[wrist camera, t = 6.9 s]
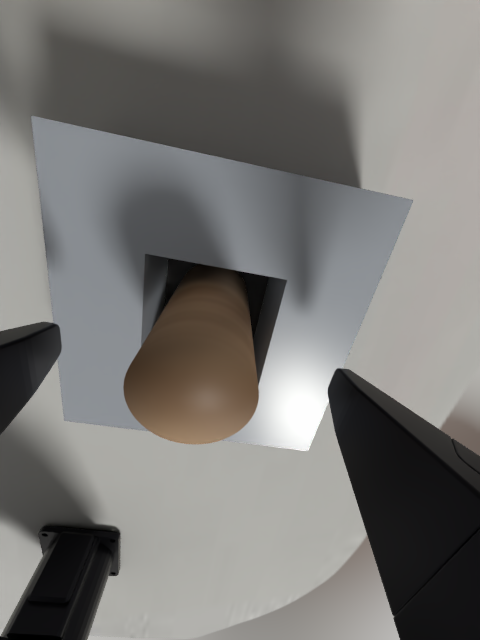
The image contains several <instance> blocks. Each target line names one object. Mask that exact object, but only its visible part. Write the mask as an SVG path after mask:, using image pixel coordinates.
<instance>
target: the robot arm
mask: <svg viewBox="0 0 480 640" xmlns="http://www.w3.org/2000/svg"><path fill="white" fill-rule="evenodd" d="M61 350H62V342H61V332H60V327H59V325H57V324H55V323H49V322H40V323H35V324H31V325H26V326H22V327H17V328H13V329H8V330H4V331H0V435H1V434H2V432H3V431H4V430H5V429H6V428H7V426H8V425H9V424H10V423H11V422H12V420H13V419H14V418H15V417H16V415H17V414H18V413H19V412H20V411H21V409H22V408H23V407H24V406H25V405H26V403H27V402H28V401H29V400H30V398H31V397H32V396H33V394H34V393H35V392H36V390H37V389H38V387H39V386H40V384H41V383H42V381H43V380H44V378H45V377H46V375H47V374H48V372H49V371H50V369H51V368H52V366H53V365H54V363H55V361H56V360H57V358H58V357H59V355H60V353H61ZM328 398H329V403H330V408H331V413H332V418H333V423H334V428H335V433H336V436H337V440H338V443H339V446H340V449H341V453H342V456H343V459H344V462H345V465H346V469H347V472H348V475H349V478H350V481H351V484H352V488H353V491H354V494H355V497H356V500H357V503H358V507H359V510H360V513H361V516H362V519H363V523H364V526H365V529H366V532H367V535H368V538H369V541H370V545H371V548H372V551H373V554H374V557H375V561H376V564H377V567H378V570H379V573H380V576H381V580H382V583H383V586H384V589H385V592H386V596H387V599H388V602H389V605H390V608H391V611H392V614H393V616H394V622H395V625H396V628H397V631H398V634H399V638H400V640H480V456H479V455H477V454H475V453H474V452H473V451H471V450H469V449H468V448H466V447H465V446H463V445H462V444H460V443H459V442H457V441H456V440H454V439H451V438H450V436H448V435H447V434H445V433H444V432H442V431H441V430H439V429H438V428H436V427H435V426H433V425H432V424H430V423H429V422H427V421H426V420H424V419H423V418H421V417H420V416H418V415H417V414H415V413H414V412H412V411H411V410H409V409H408V408H406V407H405V406H403V405H402V404H400V403H399V402H397V401H396V400H394V399H393V398H391V397H390V396H388V395H387V394H385V393H384V392H382V391H381V390H379V389H378V388H376V387H375V386H373V385H372V384H370V383H369V382H367V381H366V380H364V379H363V378H361V377H360V376H358V375H357V374H355V373H354V372H352V371H351V370H349V369H343V368H337V369H336V370H335V372H334V374H333V376H332V379H331V381H330V384H329V386H328ZM39 539H40V544H41V548H42V553H43V557H42V559H41V561H40V563H39V565H38V566H37V568H36V570H35V572H34V574H33V576H32V578H31V580H30V582H29V583H28V585H27V587H26V589H25V591H24V593H23V595H22V597H21V598H20V600H19V602H18V604H17V606H16V608H15V610H14V612H13V614H12V615H11V617H10V619H9V621H8V623H7V625H6V627H5V629H4V631H3V632H2V634H1V636H0V640H87V639H88V636H89V633H90V630H91V627H92V624H93V621H94V618H95V615H96V612H97V609H98V606H99V603H100V600H101V597H102V594H103V591H104V588H105V585H106V582H107V579H108V576H117V575H118V574H119V570H120V534H119V533H116V532H107V531H95V530H84V529H73V528H62V527H51V526H44V527H42V528H41V530H40V532H39Z"/></svg>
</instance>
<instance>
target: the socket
mask: <svg viewBox="0 0 480 640" xmlns="http://www.w3.org/2000/svg"><path fill="white" fill-rule="evenodd" d="M31 121H32V130H33V139H34V148H35V157H36V167H37V176H38V185H39V194H40V203H41V212H42V221H43V231H44V240H45V249H46V258H47V267H48V276H49V286H50V295H51V304H52V313H53V322H54V323H55V324H57V325H59V327H60V332H61V342H62V350H61V353H60V355H59V357H58V358H57V359H58V368H59V377H60V386H61V395H62V405H63V414H64V421H70V422H78V423H86V424H94V425H102V426H110V427H118V428H126V429H134V430H142V431H149V430H147V429H146V428H145V427H144V426H142V425H141V424H140V423H139V422H138V421H137V420H136V419H135V417H134V416H133V415H132V413H131V412H130V410H129V408H128V406H127V404H126V401H125V397H124V389H123V386H124V378H125V375H126V372H127V370H128V368H129V366H130V364H131V363H132V361H133V359H134V358H135V356H136V354H137V353H138V351H139V350H140V348H141V346H142V345H143V343H144V341H145V340H146V338H147V336H148V335H149V333H150V331H151V330H152V328H153V327H154V325H155V323H156V322H157V320H158V318H159V317H160V315H161V313H162V312H163V310H164V305H165V292H166V280H167V267H168V258H171V259H176V260H182V261H187V262H193V263H198V264H204V265H209V266H215V267H220V268H225V269H231V270H236V271H242V272H247V273H253V274H258V275H264V276H269V278H268V282H267V287H266V291H265V295H264V299H263V303H262V307H261V311H260V316H259V320H258V324H257V328H256V332H255V336H254V340H253V346H254V355H255V363H256V372H257V380H258V389H259V400H258V405H257V408H256V411H255V413H254V415H253V417H252V418H251V420H250V421H249V422H248V423H247V424H246V425H245V426H244V427H243V428H242V429H241V430H240V431H238V432H237V433H235V434H234V435H232V436H230V437H228V438H225V439H223V441H231V442H239V443H247V444H255V445H263V446H271V447H279V448H287V449H295V450H303V451H308V450H309V447H310V445H311V442H312V440H313V438H314V435H315V433H316V431H317V428H318V426H319V423H320V421H321V419H322V416H323V414H324V412H325V409H326V407H327V404H328V402H329V398H328V386H329V384H330V381H331V379H332V376H333V374H334V372H335V370H336V369H337V368H343V366H344V364H345V362H346V359H347V357H348V355H349V352H350V350H351V348H352V345H353V343H354V340H355V338H356V336H357V333H358V331H359V329H360V326H361V324H362V321H363V319H364V317H365V314H366V312H367V310H368V307H369V305H370V302H371V300H372V298H373V295H374V293H375V291H376V288H377V286H378V283H379V281H380V279H381V276H382V274H383V272H384V269H385V267H386V264H387V262H388V260H389V257H390V255H391V253H392V250H393V248H394V245H395V243H396V241H397V238H398V236H399V234H400V231H401V229H402V226H403V224H404V222H405V219H406V217H407V215H408V212H409V210H410V207H411V205H412V203H413V200H411V199H406V198H402V197H397V196H393V195H388V194H384V193H379V192H374V191H370V190H365V189H361V188H356V187H352V186H347V185H343V184H338V183H334V182H329V181H325V180H320V179H316V178H311V177H307V176H302V175H298V174H293V173H289V172H284V171H280V170H275V169H271V168H266V167H262V166H257V165H253V164H248V163H244V162H239V161H235V160H230V159H225V158H221V157H216V156H212V155H207V154H203V153H198V152H194V151H189V150H185V149H180V148H176V147H171V146H167V145H162V144H158V143H153V142H149V141H144V140H140V139H135V138H131V137H126V136H122V135H117V134H113V133H108V132H104V131H99V130H95V129H90V128H85V127H81V126H76V125H72V124H67V123H63V122H58V121H54V120H49V119H45V118H40V117H36V116H31ZM150 432H151V431H150Z"/></svg>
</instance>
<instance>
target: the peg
mask: <svg viewBox="0 0 480 640" xmlns="http://www.w3.org/2000/svg"><path fill="white" fill-rule="evenodd" d="M123 389H124V397H125V401H126V404H127V406H128V408H129V410H130V412H131V413H132V415H133V416H134V417H135V419H136V420H137V421H138V422H139V423H140V424H141V425H142V426H144V427H145V428H146V429H147V430H149V431H151V432H152V433H154V434H156V435H158V436H160V437H162V438H164V439H167V440H170V441H174V442H178V443H184V444H206V443H212V442H217V441H220V440H223V439H225V438H228V437H230V436H232V435H234V434H235V433H237V432H238V431H240V430H241V429H242V428H243V427H244V426H245V425H246V424H247V423H248V422H249V421H250V420H251V418H252V417H253V415H254V413H255V411H256V408H257V405H258V400H259V389H258V380H257V372H256V363H255V355H254V346H253V337H252V329H251V320H250V312H249V303H248V295H247V288H246V284H245V282H244V280H243V278H242V276H241V275H240V274H239V273H238V272H237V271H236V270H231V269H225V268H220V267H215V266H209V265H204V264H198V265H196V266H194V267H192V268H191V269H190V270H189V271H188V272H187V273H186V274H185V276H184V277H183V279H182V281H181V282H180V284H179V286H178V287H177V289H176V290H175V292H174V294H173V295H172V297H171V299H170V300H169V302H168V304H167V305H166V307H165V308H164V310H163V312H162V313H161V315H160V317H159V318H158V320H157V322H156V323H155V325H154V327H153V328H152V330H151V331H150V333H149V335H148V336H147V338H146V340H145V341H144V343H143V345H142V346H141V348H140V350H139V351H138V353H137V354H136V356H135V358H134V359H133V361H132V363H131V364H130V366H129V368H128V370H127V372H126V375H125V378H124V386H123Z"/></svg>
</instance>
